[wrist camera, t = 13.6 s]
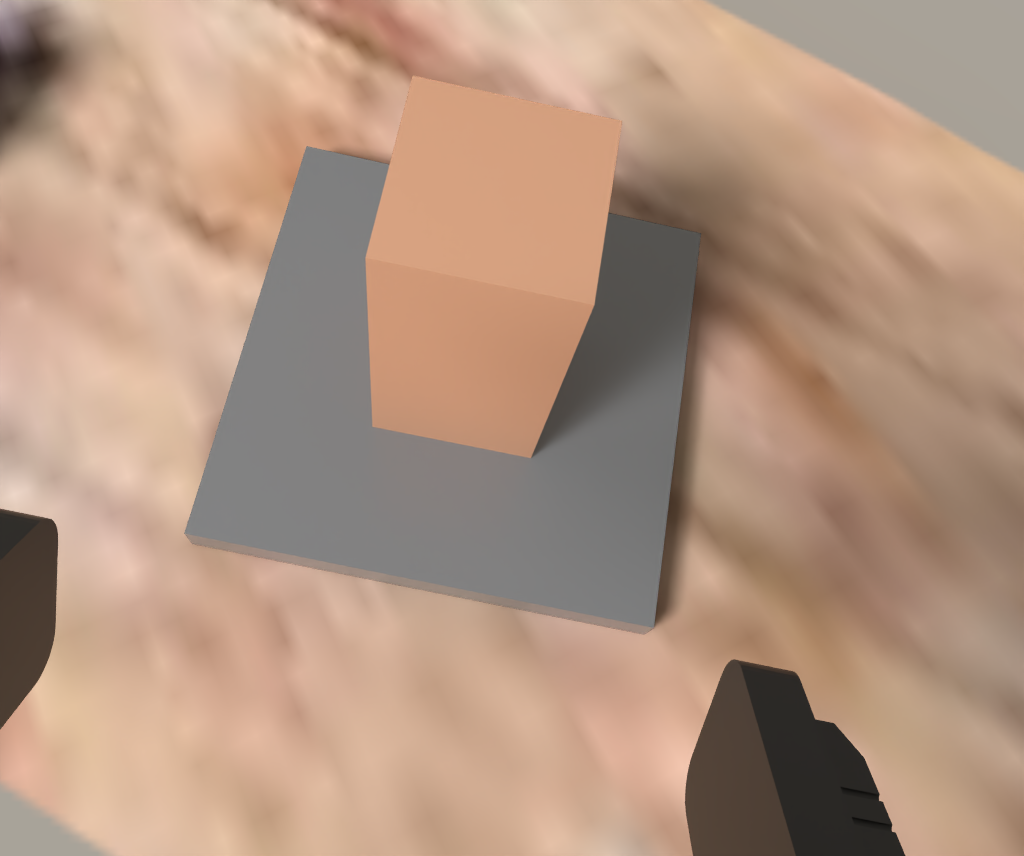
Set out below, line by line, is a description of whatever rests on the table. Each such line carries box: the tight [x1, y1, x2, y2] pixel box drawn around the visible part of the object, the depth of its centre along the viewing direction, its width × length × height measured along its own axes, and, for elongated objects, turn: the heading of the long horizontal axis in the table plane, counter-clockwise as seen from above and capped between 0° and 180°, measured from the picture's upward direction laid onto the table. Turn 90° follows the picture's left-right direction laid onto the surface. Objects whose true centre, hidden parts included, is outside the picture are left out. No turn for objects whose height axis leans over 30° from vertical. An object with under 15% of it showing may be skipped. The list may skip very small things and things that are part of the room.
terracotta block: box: [365, 76, 622, 458], centre depth 26 cm, size 5×5×10 cm
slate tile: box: [184, 146, 701, 634], centre depth 31 cm, size 14×14×1 cm
